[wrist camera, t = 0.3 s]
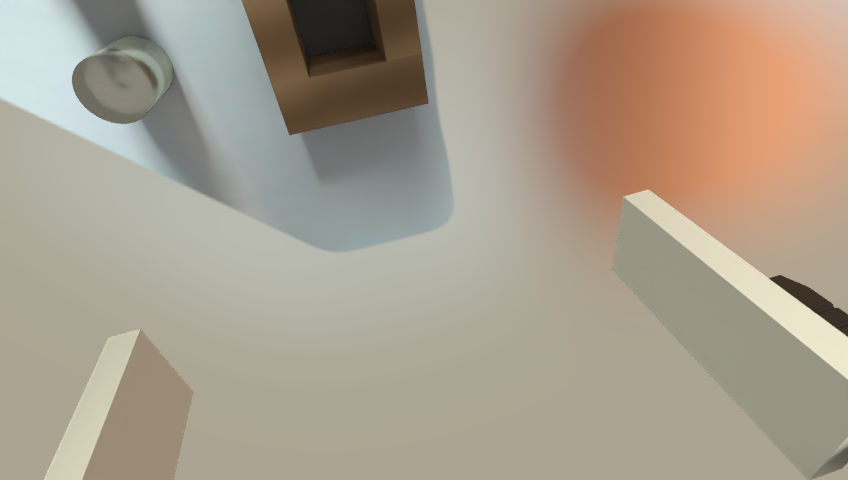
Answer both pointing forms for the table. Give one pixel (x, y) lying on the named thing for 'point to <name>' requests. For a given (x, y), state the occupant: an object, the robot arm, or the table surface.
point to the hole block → (340, 66)
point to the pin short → (123, 79)
